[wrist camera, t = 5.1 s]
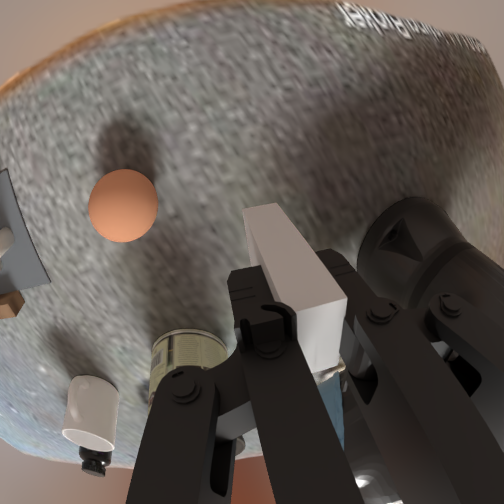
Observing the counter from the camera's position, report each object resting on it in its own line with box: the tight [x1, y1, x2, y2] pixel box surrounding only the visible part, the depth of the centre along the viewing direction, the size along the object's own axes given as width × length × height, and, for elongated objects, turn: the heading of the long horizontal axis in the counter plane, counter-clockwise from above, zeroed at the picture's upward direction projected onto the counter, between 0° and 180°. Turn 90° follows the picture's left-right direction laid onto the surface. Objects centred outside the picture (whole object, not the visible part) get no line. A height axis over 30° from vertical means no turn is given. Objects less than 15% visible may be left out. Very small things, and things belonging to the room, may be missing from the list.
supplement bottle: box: [79, 446, 112, 477], centre depth 37 cm, size 7×7×12 cm
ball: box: [88, 169, 158, 242], centre depth 21 cm, size 6×6×6 cm
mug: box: [62, 375, 119, 452], centre depth 30 cm, size 12×8×10 cm
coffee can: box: [148, 329, 245, 456], centre depth 28 cm, size 10×10×14 cm
